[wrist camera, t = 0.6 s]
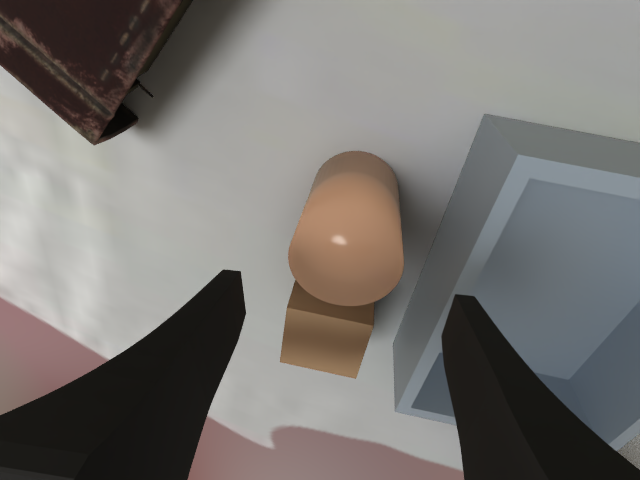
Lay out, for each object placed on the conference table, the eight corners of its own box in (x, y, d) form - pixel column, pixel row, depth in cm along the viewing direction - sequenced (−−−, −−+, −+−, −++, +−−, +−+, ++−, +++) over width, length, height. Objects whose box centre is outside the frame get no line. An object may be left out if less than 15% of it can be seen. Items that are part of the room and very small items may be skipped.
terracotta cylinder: (386, 235, 23) (387, 315, 17) (308, 219, 23) (283, 293, 17) (408, 160, 20) (419, 227, 14) (320, 143, 20) (294, 202, 15)
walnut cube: (360, 321, 28) (355, 378, 23) (295, 307, 28) (279, 362, 24) (375, 270, 25) (373, 325, 21) (303, 255, 25) (287, 307, 21)
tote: (570, 381, 28) (607, 458, 23) (393, 343, 28) (394, 411, 24) (764, 166, 18) (897, 227, 13) (484, 113, 18) (518, 154, 14)
